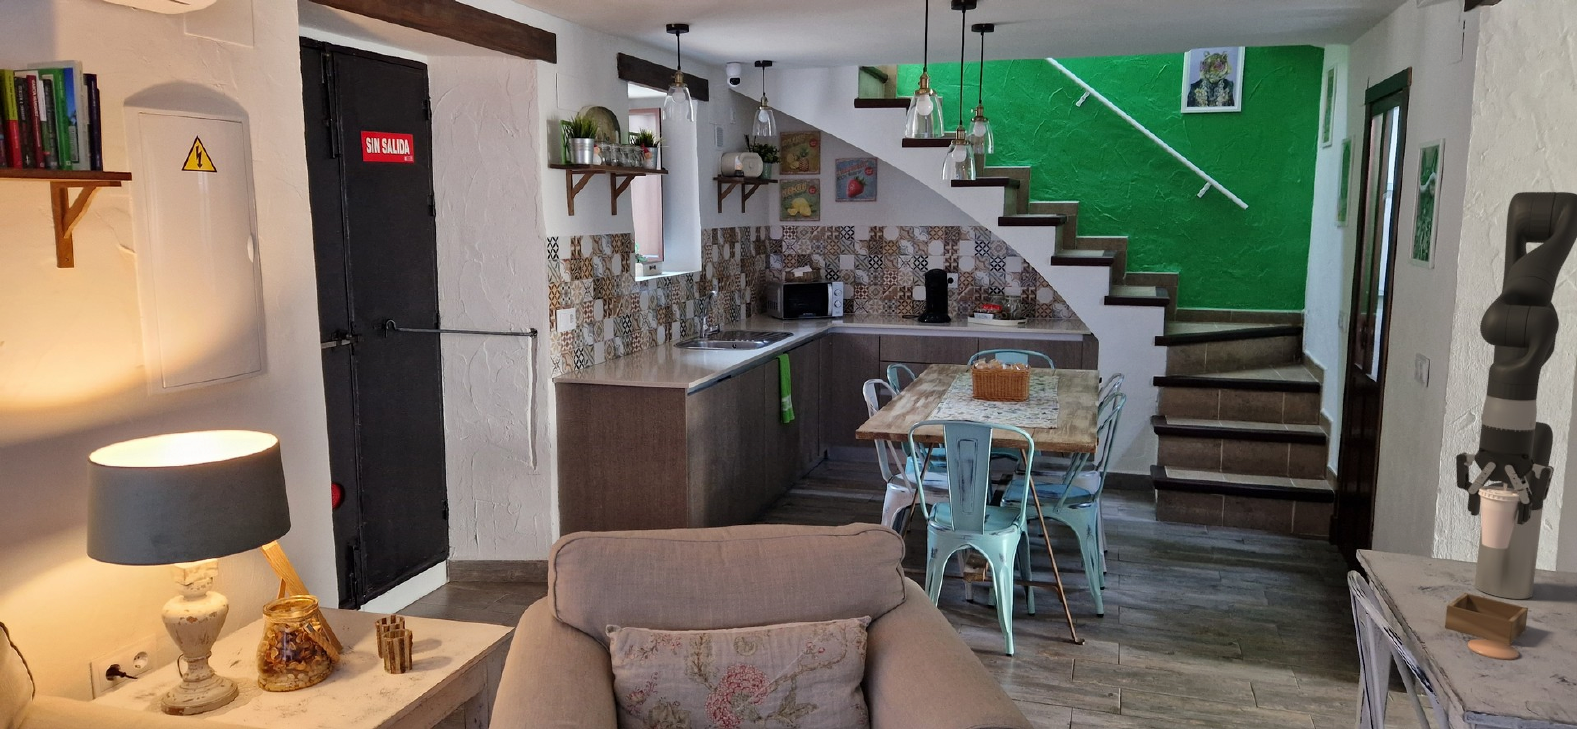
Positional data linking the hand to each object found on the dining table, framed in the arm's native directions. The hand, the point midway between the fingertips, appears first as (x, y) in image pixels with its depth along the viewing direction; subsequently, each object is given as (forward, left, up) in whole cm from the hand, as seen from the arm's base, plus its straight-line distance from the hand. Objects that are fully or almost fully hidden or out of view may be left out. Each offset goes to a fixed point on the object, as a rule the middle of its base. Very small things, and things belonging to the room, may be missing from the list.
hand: (1497, 518), depth 181 cm
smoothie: (0, 0, -5) cm, 5 cm away
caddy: (0, 0, -20) cm, 20 cm away
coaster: (+10, +4, -20) cm, 22 cm away
